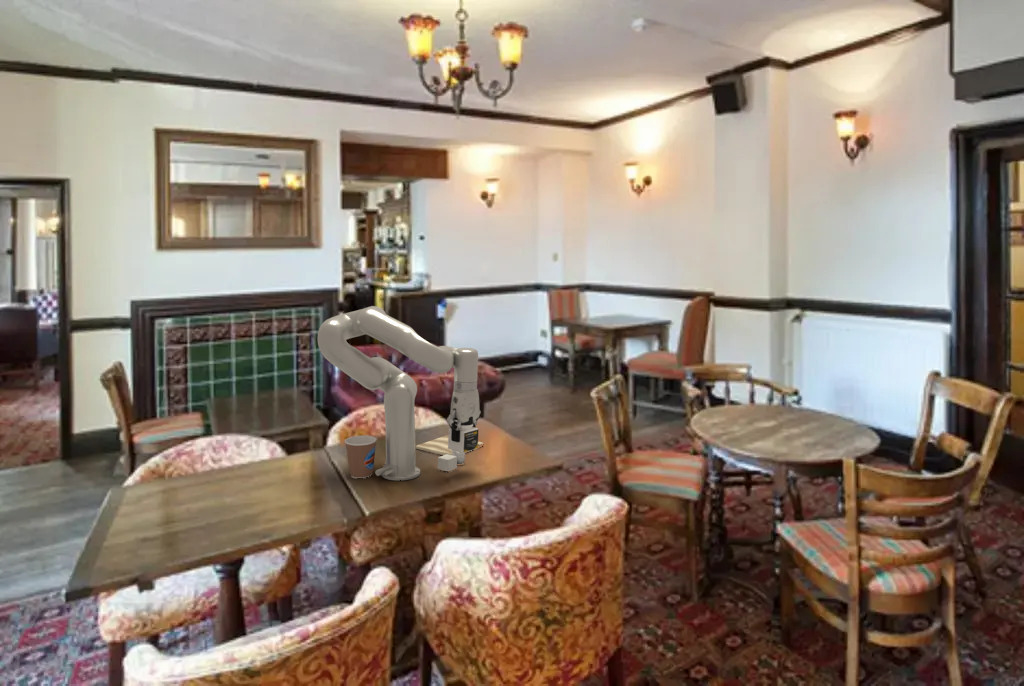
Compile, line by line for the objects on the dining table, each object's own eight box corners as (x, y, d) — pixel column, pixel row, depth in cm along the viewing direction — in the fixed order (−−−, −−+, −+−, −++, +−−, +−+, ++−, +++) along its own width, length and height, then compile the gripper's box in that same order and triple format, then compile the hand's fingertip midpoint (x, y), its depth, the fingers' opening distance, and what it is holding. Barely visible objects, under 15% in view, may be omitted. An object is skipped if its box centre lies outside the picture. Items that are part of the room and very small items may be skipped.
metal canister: (459, 466, 219) (459, 452, 219) (449, 464, 222) (449, 450, 221) (467, 463, 223) (467, 449, 222) (457, 460, 226) (457, 447, 225)
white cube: (448, 472, 213) (448, 459, 213) (438, 470, 216) (438, 457, 215) (456, 469, 217) (456, 456, 216) (446, 466, 219) (446, 454, 219)
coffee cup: (369, 481, 204) (369, 445, 202) (339, 479, 206) (338, 443, 204) (382, 471, 214) (381, 436, 212) (353, 468, 216) (353, 434, 214)
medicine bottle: (463, 453, 206) (465, 417, 204) (447, 448, 210) (448, 413, 208) (478, 449, 211) (479, 413, 210) (461, 444, 215) (463, 409, 214)
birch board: (452, 458, 228) (452, 454, 228) (415, 449, 238) (415, 445, 238) (483, 446, 242) (483, 442, 242) (447, 438, 253) (447, 434, 252)
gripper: (457, 391, 198) (455, 446, 201) (490, 384, 213) (488, 435, 215) (438, 388, 203) (437, 442, 205) (472, 380, 217) (470, 431, 219)
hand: (463, 438), depth 210 cm, fingers closed on medicine bottle, 7 cm apart
